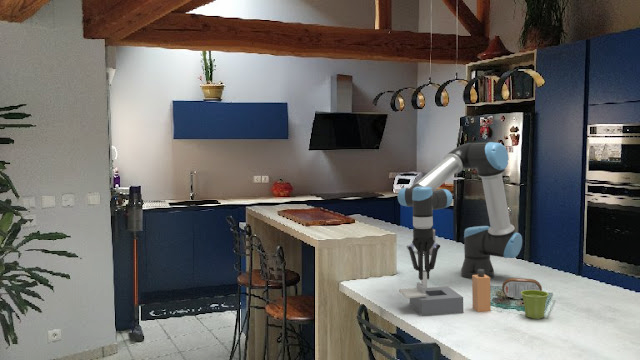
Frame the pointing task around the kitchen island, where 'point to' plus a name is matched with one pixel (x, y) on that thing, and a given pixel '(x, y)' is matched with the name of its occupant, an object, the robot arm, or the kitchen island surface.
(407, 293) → the shutter
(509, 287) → the tin
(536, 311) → the plant pot
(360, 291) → the kitchen island surface
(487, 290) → the orange square bottle
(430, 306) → the socket
